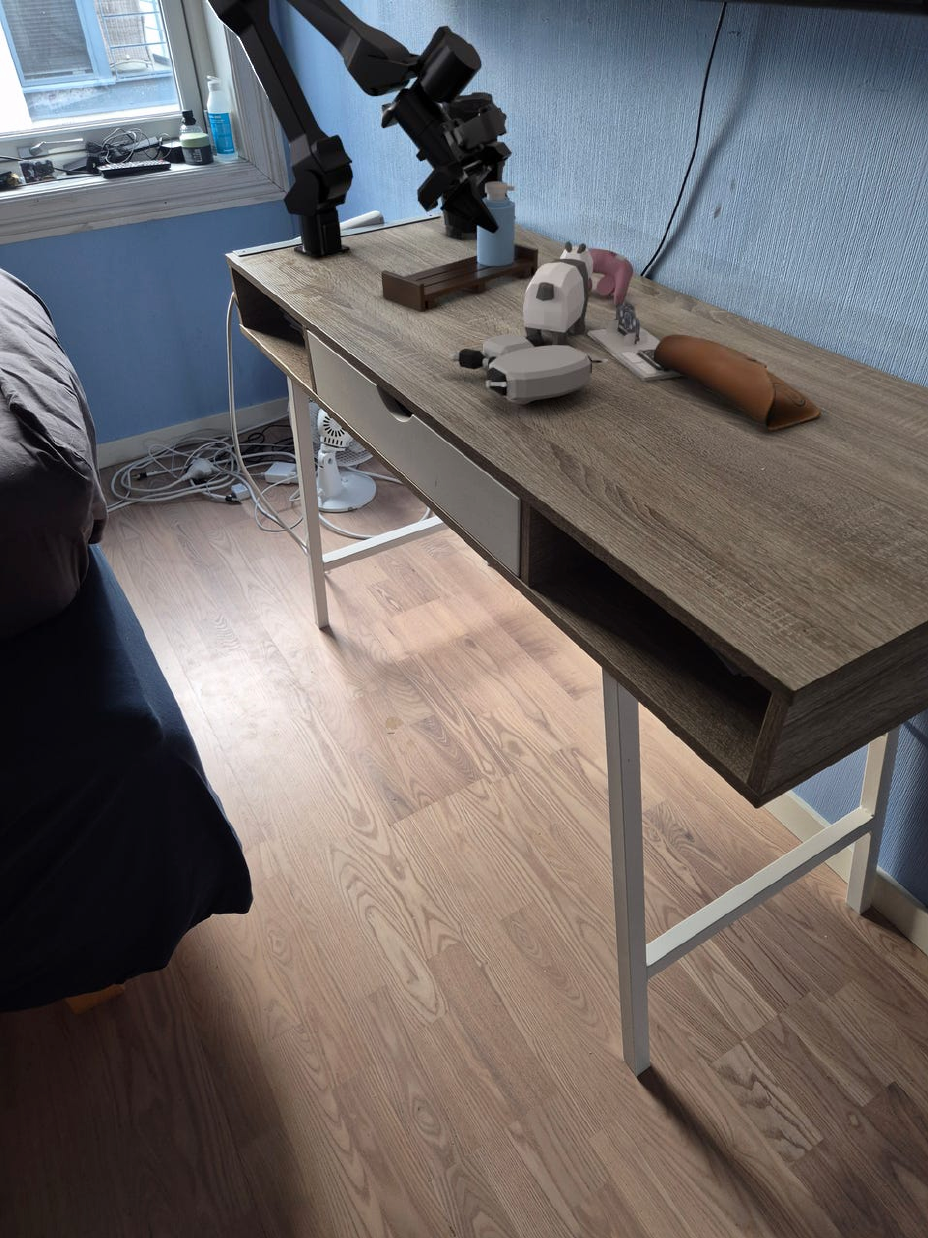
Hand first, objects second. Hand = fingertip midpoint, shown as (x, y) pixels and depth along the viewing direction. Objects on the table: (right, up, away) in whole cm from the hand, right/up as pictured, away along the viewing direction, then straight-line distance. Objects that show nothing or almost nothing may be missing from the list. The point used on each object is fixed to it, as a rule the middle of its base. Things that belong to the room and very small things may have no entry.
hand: (504, 225), depth 120 cm
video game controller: (+12, -11, -3) cm, 16 cm away
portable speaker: (-5, +9, +22) cm, 25 cm away
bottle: (-1, -3, +4) cm, 5 cm away
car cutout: (+15, -24, -19) cm, 34 cm away
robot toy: (+1, -29, -26) cm, 39 cm away
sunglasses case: (+23, -30, -28) cm, 47 cm away
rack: (-6, -8, +1) cm, 10 cm away
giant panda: (+6, -20, -13) cm, 24 cm away
